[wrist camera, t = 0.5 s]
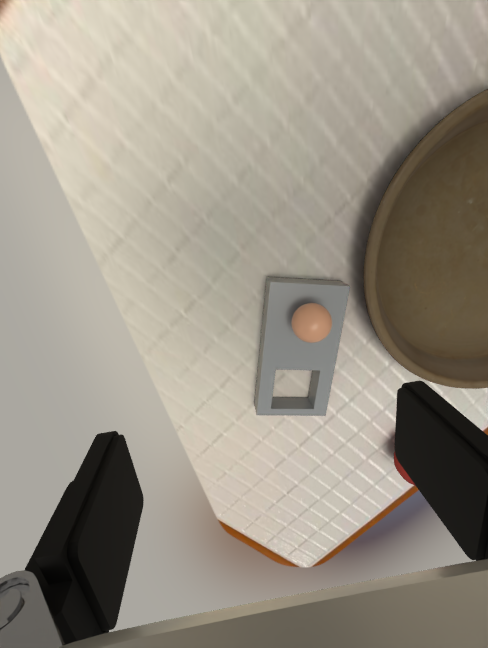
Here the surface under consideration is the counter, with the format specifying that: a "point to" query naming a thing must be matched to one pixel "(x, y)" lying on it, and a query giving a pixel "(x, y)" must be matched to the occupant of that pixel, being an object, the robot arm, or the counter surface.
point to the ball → (311, 322)
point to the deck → (298, 344)
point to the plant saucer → (435, 254)
